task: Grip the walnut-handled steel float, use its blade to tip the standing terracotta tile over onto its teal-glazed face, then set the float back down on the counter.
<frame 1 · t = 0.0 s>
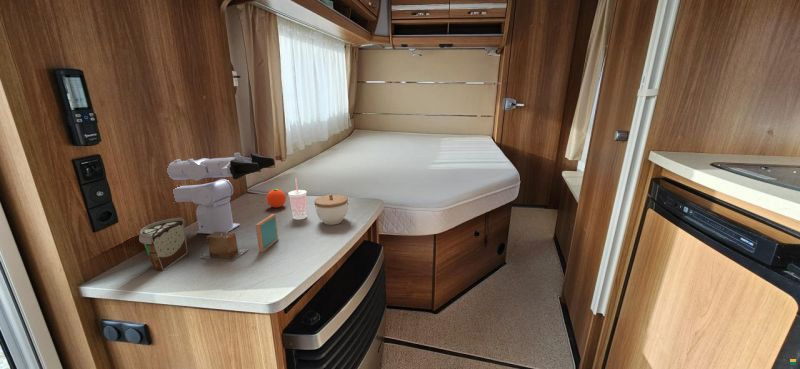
hand: (266, 164, 96), 22 cm above the worktop, tool horizontal, fingers open, 7 cm apart
beverage cup: (300, 217, 115), on the worktop
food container: (164, 262, 86), on the worktop
float: (224, 255, 89), on the worktop
lidded jar: (332, 221, 111), on the worktop
clementine: (277, 207, 126), on the worktop
glazed tile: (269, 245, 94), on the worktop
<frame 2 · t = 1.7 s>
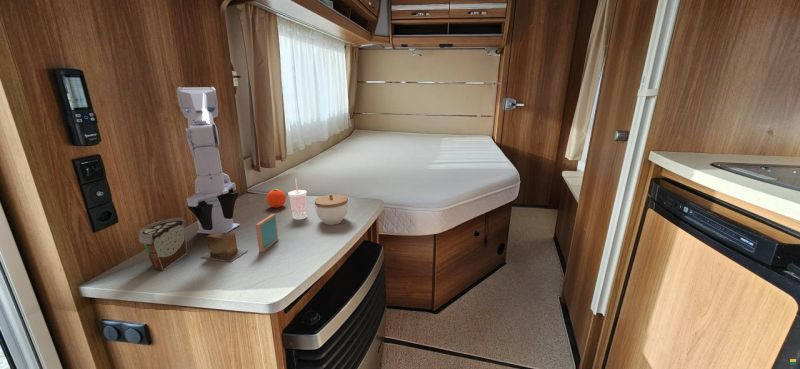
hand: (218, 223, 86), 9 cm above the worktop, tool pointing down, fingers open, 7 cm apart
nothing on the worktop moved.
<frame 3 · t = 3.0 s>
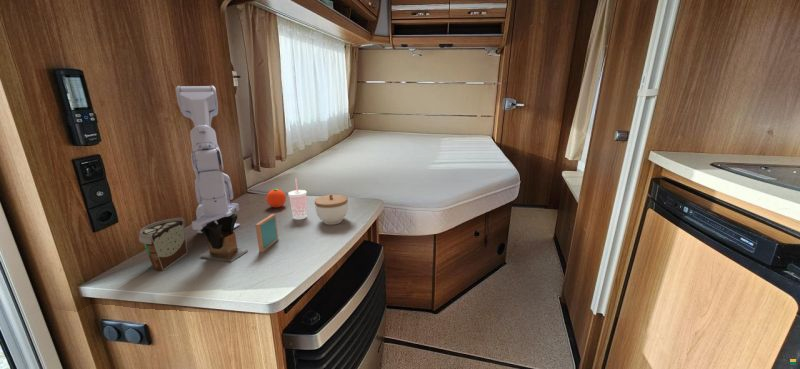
hand: (222, 244, 88), 3 cm above the worktop, tool pointing down, fingers closed on float, 4 cm apart
float: (224, 254, 89), on the worktop, touching gripper
everything else where it was.
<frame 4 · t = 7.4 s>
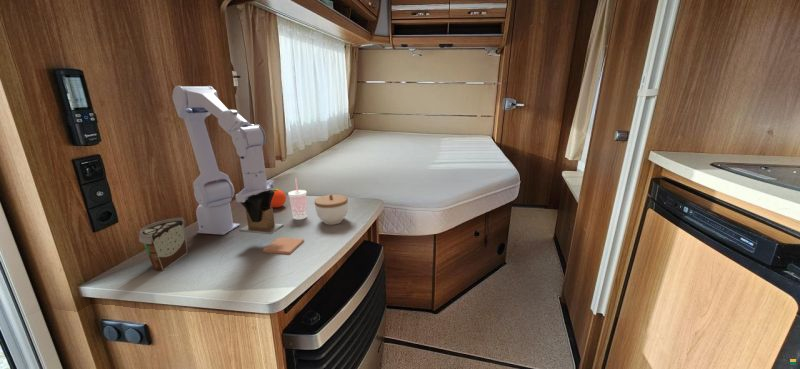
hand: (260, 218, 92), 8 cm above the worktop, tool pointing down, fingers closed on float, 3 cm apart
float: (262, 228, 93), point 5 cm above the worktop, touching gripper
glazed tile: (271, 244, 94), on the worktop, tilted 90°
everything else where it was.
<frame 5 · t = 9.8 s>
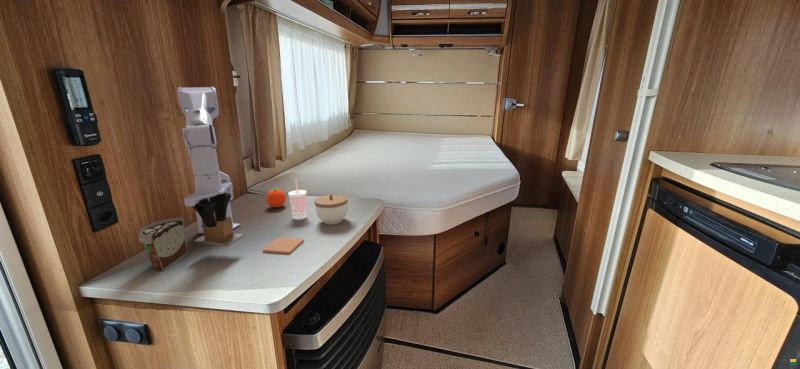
hand: (216, 223, 86), 9 cm above the worktop, tool pointing down, fingers closed on float, 3 cm apart
float: (219, 239, 88), point 4 cm above the worktop, touching gripper
everything else where it was.
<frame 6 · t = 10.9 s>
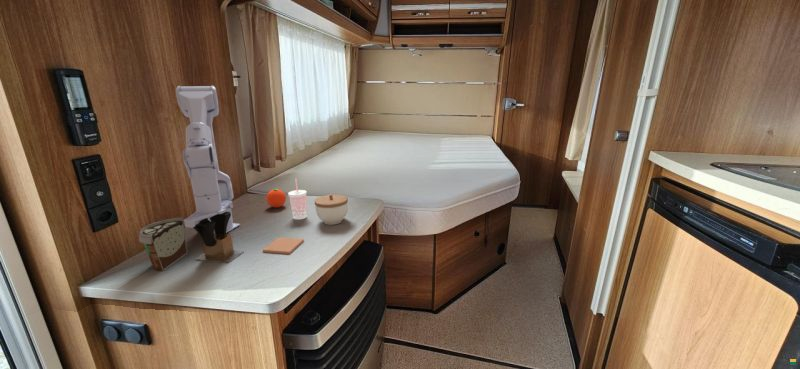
hand: (216, 242, 87), 4 cm above the worktop, tool pointing down, fingers closed on float, 3 cm apart
float: (220, 257, 88), on the worktop, touching gripper
everything else where it was.
when the fingers open (4 cm above the worktop, at t = 11.2 s): float stays where it is, on the worktop.
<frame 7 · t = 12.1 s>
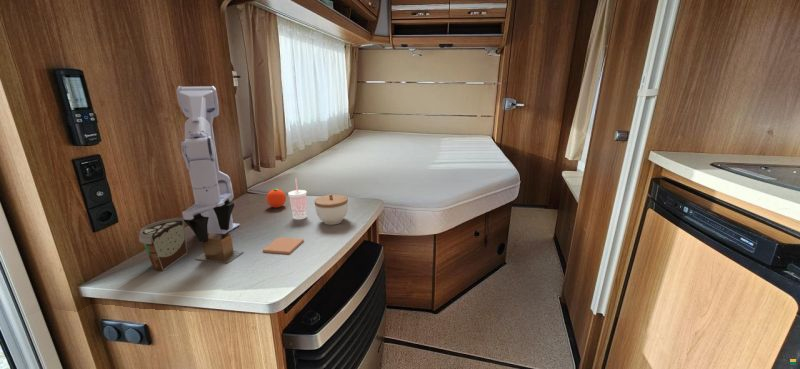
hand: (214, 235, 87), 6 cm above the worktop, tool pointing down, fingers open, 7 cm apart
float: (220, 256, 88), on the worktop
everything else where it was.
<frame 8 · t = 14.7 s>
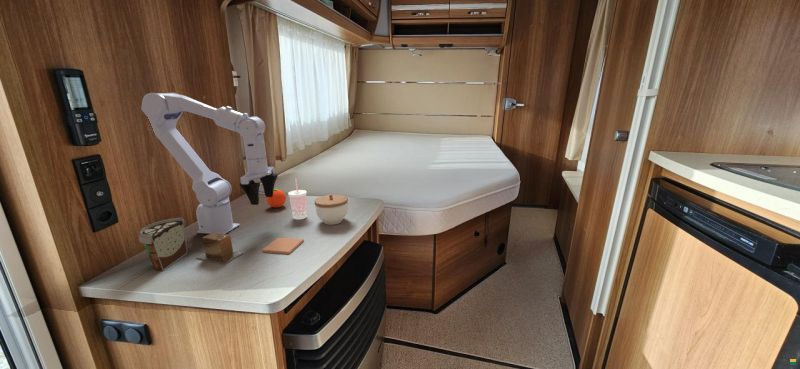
hand: (262, 200, 103), 9 cm above the worktop, tool pointing down, fingers open, 7 cm apart
nothing on the worktop moved.
at the end: glazed tile tilted 90°; the gripper is holding nothing; float on the worktop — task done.
